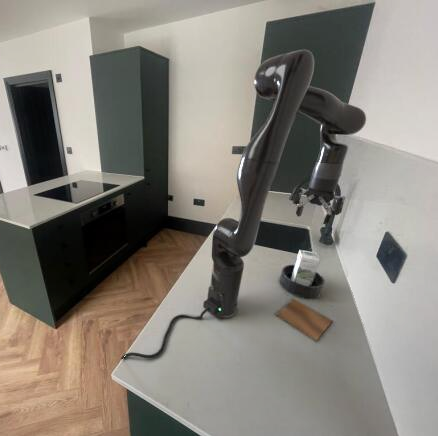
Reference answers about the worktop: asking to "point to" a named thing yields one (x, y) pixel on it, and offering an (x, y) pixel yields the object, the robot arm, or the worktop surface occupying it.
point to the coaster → (304, 319)
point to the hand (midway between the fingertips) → (311, 219)
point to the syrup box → (305, 267)
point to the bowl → (298, 288)
